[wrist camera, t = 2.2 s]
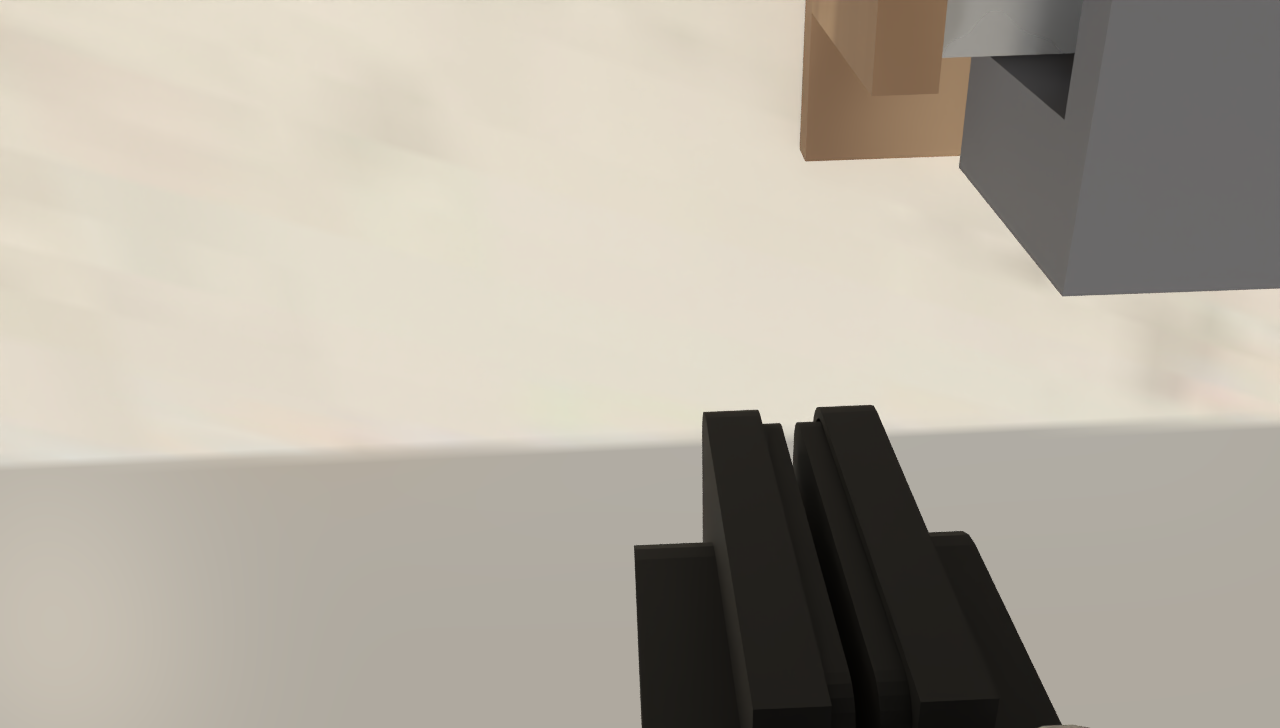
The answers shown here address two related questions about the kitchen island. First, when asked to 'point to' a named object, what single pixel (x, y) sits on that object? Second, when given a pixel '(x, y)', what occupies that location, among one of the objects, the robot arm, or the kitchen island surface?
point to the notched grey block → (1138, 148)
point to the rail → (1010, 27)
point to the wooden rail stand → (880, 81)
